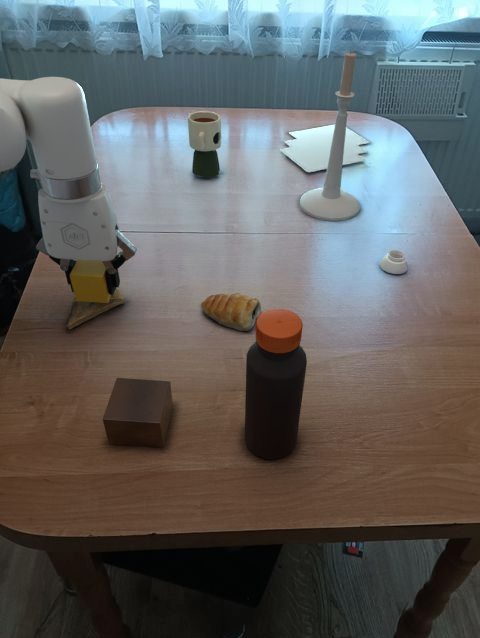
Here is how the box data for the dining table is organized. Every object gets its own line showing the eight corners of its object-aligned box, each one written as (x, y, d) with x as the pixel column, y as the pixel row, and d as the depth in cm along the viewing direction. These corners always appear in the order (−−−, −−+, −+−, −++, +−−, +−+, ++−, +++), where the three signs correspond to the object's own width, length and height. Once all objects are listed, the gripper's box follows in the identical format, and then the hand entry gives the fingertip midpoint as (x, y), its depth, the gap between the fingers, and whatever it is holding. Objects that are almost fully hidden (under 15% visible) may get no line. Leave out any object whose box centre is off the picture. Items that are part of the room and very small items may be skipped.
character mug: (218, 186, 120) (217, 127, 111) (186, 184, 120) (182, 125, 111) (224, 165, 128) (224, 108, 119) (195, 163, 128) (192, 106, 119)
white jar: (398, 258, 102) (374, 262, 101) (401, 245, 100) (377, 249, 99) (411, 273, 99) (387, 277, 97) (415, 259, 97) (391, 264, 95)
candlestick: (333, 186, 122) (354, 38, 102) (371, 211, 115) (402, 56, 94) (287, 200, 117) (300, 46, 96) (325, 227, 109) (347, 66, 89)
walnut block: (108, 444, 69) (102, 419, 65) (122, 402, 74) (116, 377, 70) (163, 448, 68) (159, 423, 65) (173, 406, 74) (170, 380, 70)
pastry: (195, 321, 86) (194, 302, 84) (211, 297, 91) (210, 278, 89) (250, 335, 85) (251, 316, 82) (263, 309, 89) (264, 291, 87)
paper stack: (260, 137, 140) (260, 135, 140) (340, 123, 149) (340, 121, 149) (307, 175, 125) (307, 172, 125) (392, 157, 135) (393, 154, 134)
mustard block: (76, 301, 84) (69, 275, 80) (85, 282, 88) (79, 256, 84) (108, 303, 84) (102, 277, 80) (116, 283, 87) (111, 258, 84)
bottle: (280, 412, 74) (290, 295, 60) (306, 448, 69) (324, 332, 56) (235, 429, 71) (235, 312, 57) (259, 468, 67) (266, 352, 53)
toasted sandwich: (67, 332, 83) (64, 324, 82) (43, 309, 87) (40, 300, 86) (127, 304, 89) (125, 295, 88) (102, 283, 93) (101, 274, 92)
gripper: (-3, 189, 70) (33, 299, 83) (127, 197, 70) (144, 306, 82) (19, 164, 75) (50, 271, 88) (140, 171, 75) (154, 277, 88)
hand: (95, 287), depth 85 cm, fingers closed on mustard block, 5 cm apart
